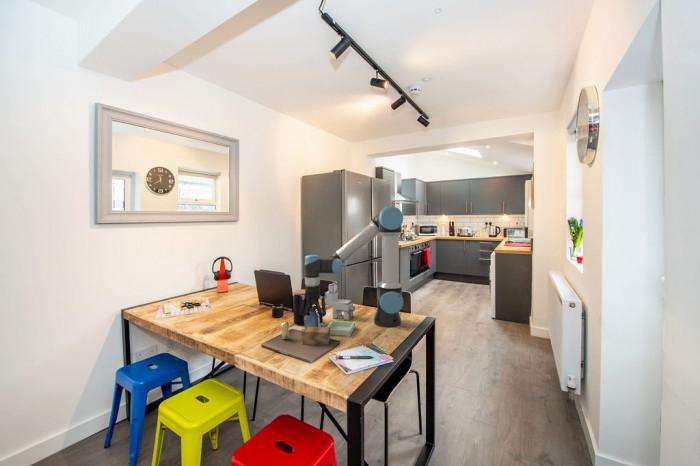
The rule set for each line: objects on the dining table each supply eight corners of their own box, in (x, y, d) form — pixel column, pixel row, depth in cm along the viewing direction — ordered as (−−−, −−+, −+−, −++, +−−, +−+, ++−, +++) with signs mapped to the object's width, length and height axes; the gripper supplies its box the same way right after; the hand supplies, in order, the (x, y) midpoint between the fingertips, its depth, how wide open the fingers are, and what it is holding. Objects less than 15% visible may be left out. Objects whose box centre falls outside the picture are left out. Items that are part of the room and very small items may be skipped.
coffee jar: (308, 326, 161) (308, 293, 160) (290, 325, 163) (290, 293, 163) (315, 320, 171) (314, 289, 171) (297, 319, 174) (297, 288, 173)
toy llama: (351, 321, 169) (351, 286, 168) (325, 317, 176) (324, 284, 176) (356, 317, 176) (356, 284, 175) (331, 314, 183) (330, 282, 182)
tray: (354, 327, 158) (354, 322, 158) (349, 336, 146) (349, 330, 146) (331, 326, 161) (331, 320, 161) (324, 335, 148) (324, 329, 148)
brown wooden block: (330, 339, 143) (330, 327, 143) (327, 345, 136) (327, 332, 136) (306, 338, 145) (306, 326, 144) (302, 344, 138) (302, 331, 137)
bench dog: (289, 337, 145) (289, 321, 145) (287, 340, 142) (286, 324, 142) (283, 337, 146) (283, 321, 145) (280, 339, 143) (280, 323, 142)
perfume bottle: (320, 330, 155) (320, 307, 155) (315, 334, 150) (315, 310, 149) (310, 328, 157) (309, 306, 157) (304, 333, 152) (304, 309, 151)
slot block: (323, 328, 158) (323, 323, 158) (316, 336, 147) (316, 331, 147) (309, 327, 160) (309, 322, 160) (301, 335, 148) (301, 330, 148)
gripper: (332, 284, 154) (332, 327, 155) (297, 282, 158) (297, 325, 159) (328, 287, 147) (328, 332, 148) (291, 285, 151) (292, 329, 152)
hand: (312, 328), depth 153 cm, fingers closed on perfume bottle, 7 cm apart
